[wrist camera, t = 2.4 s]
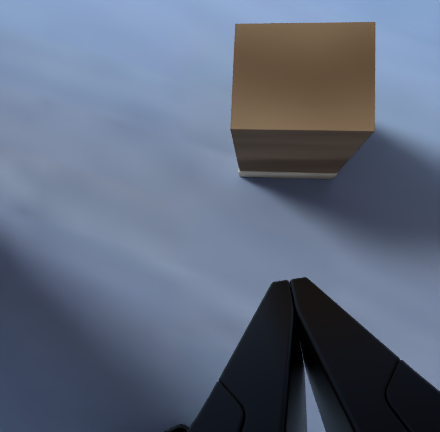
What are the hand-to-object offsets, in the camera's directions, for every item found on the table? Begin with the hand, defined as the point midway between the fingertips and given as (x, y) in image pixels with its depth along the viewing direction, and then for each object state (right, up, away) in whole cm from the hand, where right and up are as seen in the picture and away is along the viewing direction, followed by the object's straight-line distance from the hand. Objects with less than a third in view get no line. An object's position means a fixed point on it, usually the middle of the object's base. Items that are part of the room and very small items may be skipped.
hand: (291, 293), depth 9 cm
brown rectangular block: (+2, +6, +13) cm, 14 cm away
